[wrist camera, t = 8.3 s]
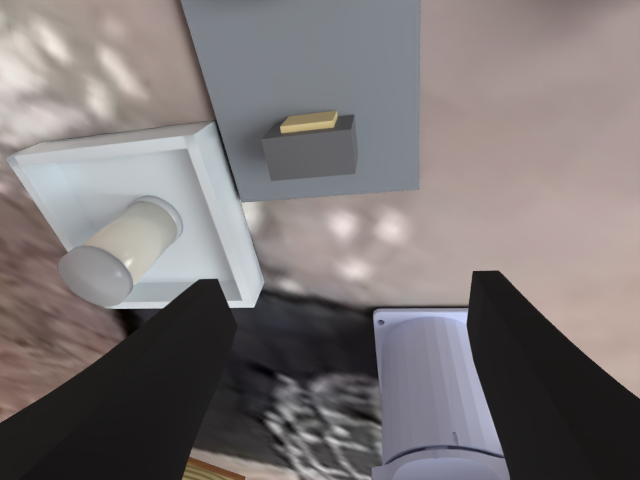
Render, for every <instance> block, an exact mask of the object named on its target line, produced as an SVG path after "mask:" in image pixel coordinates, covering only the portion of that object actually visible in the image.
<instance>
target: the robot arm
mask: <svg viewBox="0 0 640 480" xmlns="http://www.w3.org/2000/svg"><path fill="white" fill-rule="evenodd" d="M379 320H383V321H379ZM373 322H374V333H375V344H376V355H377V366H378V377H379V388H380V392H381V393H382V466H379V467H373V468H372V480H640V399H639V398H638V397H637V396H635V395H634V394H633V393H631V392H630V391H629V390H627V389H626V388H625V387H624V386H622V385H621V384H620V383H619V382H617V381H616V380H615V379H614V378H613V377H611V376H610V375H609V374H608V373H607V372H605V371H604V370H603V369H602V368H601V367H599V366H598V365H597V364H596V363H595V362H594V361H592V360H591V359H590V358H589V357H588V356H587V355H585V354H584V353H583V352H582V351H581V350H580V349H579V348H578V347H576V346H575V345H574V344H573V343H572V342H571V341H570V340H569V339H568V338H567V337H565V336H564V335H563V334H562V333H561V332H560V331H559V330H558V329H557V328H556V327H555V326H554V325H553V324H552V323H551V322H549V321H548V320H547V319H546V318H545V317H544V316H543V315H542V314H541V313H540V312H539V311H538V310H537V309H536V308H535V307H534V306H533V305H532V304H531V303H530V302H529V301H528V300H527V299H526V298H525V297H524V296H523V295H522V294H521V293H520V292H519V291H518V290H517V289H516V288H515V287H514V286H513V285H512V284H511V283H510V281H509V280H508V279H507V278H506V277H505V276H504V275H503V274H502V273H501V272H499V271H473V275H472V283H471V291H470V299H469V307H468V308H411V309H376V310H375V311H374V312H373ZM236 328H237V324H236V322H235V319H234V317H233V315H232V312H231V310H230V307H229V305H228V302H227V300H226V298H225V295H224V293H223V290H222V288H221V285H220V283H219V281H218V279H199V280H198V281H196V282H195V283H193V284H192V285H191V286H190V287H188V288H187V289H186V290H185V291H183V292H182V293H181V294H180V295H178V296H177V297H176V298H175V299H174V300H172V301H171V302H170V303H169V304H168V305H166V306H165V307H164V308H163V309H162V310H160V311H159V312H158V313H157V314H156V315H154V316H153V317H152V318H151V319H150V320H148V321H147V322H146V323H145V324H143V325H142V326H141V327H140V328H139V329H137V330H136V331H135V332H134V333H132V334H131V335H130V336H128V337H127V338H126V339H125V340H123V341H122V342H121V343H119V344H118V345H117V346H116V347H114V348H113V349H112V350H110V351H109V352H108V353H106V354H105V355H104V356H103V357H101V358H100V359H99V360H97V361H96V362H94V363H93V364H92V365H90V366H89V367H87V368H86V369H85V370H83V371H82V372H80V373H79V374H77V375H76V376H74V377H73V378H71V379H70V380H68V381H67V382H66V383H64V384H63V385H61V386H60V387H58V388H57V389H55V390H53V391H52V392H50V393H49V394H47V395H46V396H44V397H42V398H41V399H39V400H37V401H36V402H34V403H32V404H31V405H29V406H27V407H26V408H24V409H23V410H21V411H19V412H18V413H16V414H14V415H13V416H11V417H9V418H8V419H6V420H4V421H3V422H1V423H0V480H182V478H183V475H184V472H185V468H186V465H187V462H188V459H189V455H190V452H191V449H192V446H193V443H194V441H195V438H196V435H197V433H198V430H199V428H200V425H201V423H202V420H203V418H204V416H205V413H206V411H207V408H208V406H209V404H210V401H211V399H212V396H213V394H214V392H215V389H216V387H217V385H218V382H219V380H220V377H221V375H222V372H223V370H224V367H225V365H226V362H227V360H228V357H229V354H230V350H231V347H232V343H233V340H234V336H235V332H236Z"/></svg>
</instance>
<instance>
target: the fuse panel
mask: <svg viewBox="0 0 640 480" xmlns="http://www.w3.org/2000/svg"><path fill="white" fill-rule="evenodd" d="M181 3H182V7H183V10H184V13H185V17H186V20H187V23H188V27H189V30H190V33H191V36H192V40H193V43H194V46H195V50H196V53H197V56H198V60H199V63H200V66H201V69H202V73H203V76H204V79H205V83H206V86H207V89H208V93H209V96H210V99H211V102H212V106H213V109H214V112H215V116H216V119H217V122H218V126H219V129H220V132H221V135H222V139H223V142H224V145H225V149H226V152H227V155H228V159H229V162H230V165H231V168H232V172H233V175H234V178H235V182H236V185H237V188H238V192H239V195H240V198H241V201H242V202H254V201H268V200H281V199H295V198H309V197H323V196H336V195H350V194H364V193H378V192H391V191H405V190H419V95H420V0H181Z"/></svg>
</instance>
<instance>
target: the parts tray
mask: <svg viewBox="0 0 640 480" xmlns="http://www.w3.org/2000/svg"><path fill="white" fill-rule="evenodd" d="M5 158H6V160H7V161H8V163H9V164H10V166H11V167H12V169H13V170H14V172H15V173H16V175H17V176H18V178H19V179H20V181H21V182H22V184H23V185H24V187H25V188H26V190H27V191H28V193H29V194H30V196H31V197H32V199H33V200H34V202H35V203H36V205H37V206H38V208H39V209H40V211H41V212H42V214H43V215H44V217H45V218H46V220H47V221H48V223H49V224H50V226H51V227H52V229H53V230H54V232H55V233H56V235H57V236H58V238H59V239H60V241H61V242H62V244H63V245H64V247H65V248H66V250H67V251H68V252H69V251H71V250H72V249H73V248H75V247H78V246H81V245H82V244H83V243H84V242H86V241H87V240H88V239H89V238H91V237H92V236H93V235H94V234H96V233H97V232H98V231H100V230H101V229H102V228H103V227H105V226H106V225H107V224H108V223H110V222H111V221H112V220H113V219H115V218H116V217H117V216H119V215H120V214H121V213H122V212H124V211H125V210H126V209H127V207H128V206H129V205H130V204H131V203H132V202H133V201H135V200H136V199H137V198H139V197H141V196H147V195H150V196H156V197H159V198H161V199H163V200H165V201H167V202H168V203H170V204H171V205H172V206H173V207H174V208H175V209H176V210H177V211H178V213H179V214H180V216H181V218H182V221H183V232H182V234H181V236H180V237H179V238H178V239H177V240H176V241H175V243H173V244H172V245H170V246H169V247H168V248H167V249H166V250H165V251H164V252H163V254H162V255H161V256H160V257H159V258H158V259H157V260H156V261H155V263H154V264H153V265H152V266H151V267H150V268H149V269H148V270H147V272H146V273H145V274H144V275H143V276H142V277H141V278H140V279H139V281H138V282H137V283H136V284H135V285H134V286H133V289H132V291H131V293H130V294H129V295H128V296H127V297H126V298H125V299H124V301H123V302H122V303H120V304H118V305H115V306H104V307H105V309H125V308H164V307H165V306H166V305H168V304H169V303H170V302H171V301H172V300H174V299H175V298H176V297H177V296H178V295H180V294H181V293H182V292H183V291H185V290H186V289H187V288H188V287H190V286H191V285H192V284H193V283H195V282H196V281H198V280H199V279H218V281H219V283H220V285H221V288H222V290H223V293H224V295H225V298H226V300H227V302H228V305H229V307H230V308H254V306H255V304H256V301H257V299H258V297H259V294H260V292H261V289H262V287H263V285H264V279H263V276H262V272H261V269H260V266H259V262H258V259H257V256H256V253H255V249H254V246H253V243H252V240H251V236H250V233H249V230H248V227H247V223H246V220H245V217H244V213H243V210H242V207H241V204H240V200H239V197H238V194H237V191H236V187H235V184H234V181H233V177H232V174H231V171H230V168H229V164H228V161H227V158H226V155H225V151H224V148H223V145H222V142H221V138H220V135H219V132H218V128H217V125H216V122H215V120H214V121H206V122H198V123H190V124H182V125H174V126H166V127H159V128H151V129H143V130H135V131H127V132H119V133H111V134H103V135H95V136H87V137H79V138H71V139H63V140H55V141H47V142H41V143H39V144H36V145H34V146H31V147H29V148H26V149H24V150H21V151H19V152H16V153H13V154H11V155H8V156H6V157H5Z"/></svg>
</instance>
